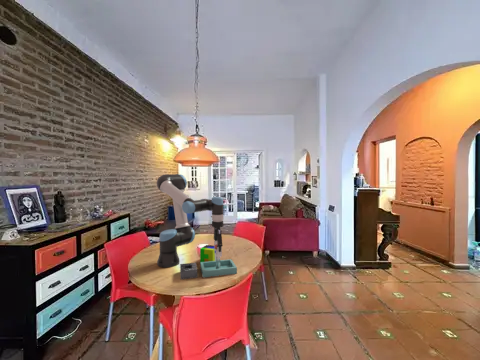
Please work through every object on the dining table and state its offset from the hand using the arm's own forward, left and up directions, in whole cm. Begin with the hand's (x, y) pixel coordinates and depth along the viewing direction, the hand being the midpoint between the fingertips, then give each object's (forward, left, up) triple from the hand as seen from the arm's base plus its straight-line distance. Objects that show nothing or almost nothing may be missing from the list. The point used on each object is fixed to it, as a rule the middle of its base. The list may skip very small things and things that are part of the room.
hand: (217, 253), depth 154 cm
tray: (0, 0, -11) cm, 11 cm away
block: (+1, -19, -11) cm, 22 cm away
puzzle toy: (-19, -3, -12) cm, 23 cm away
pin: (0, 0, -11) cm, 11 cm away
